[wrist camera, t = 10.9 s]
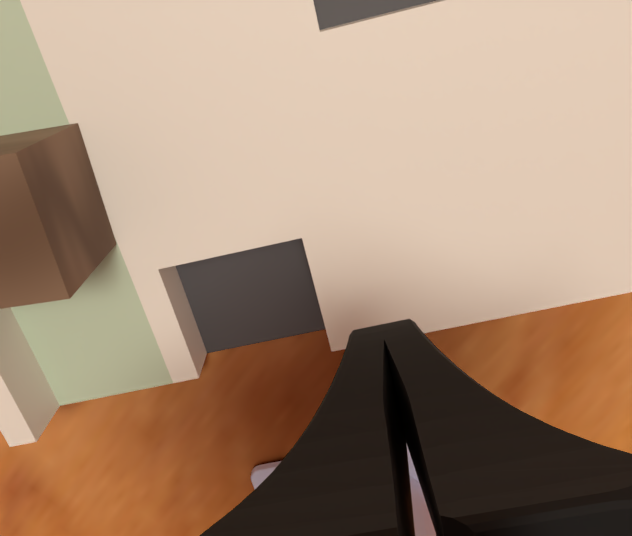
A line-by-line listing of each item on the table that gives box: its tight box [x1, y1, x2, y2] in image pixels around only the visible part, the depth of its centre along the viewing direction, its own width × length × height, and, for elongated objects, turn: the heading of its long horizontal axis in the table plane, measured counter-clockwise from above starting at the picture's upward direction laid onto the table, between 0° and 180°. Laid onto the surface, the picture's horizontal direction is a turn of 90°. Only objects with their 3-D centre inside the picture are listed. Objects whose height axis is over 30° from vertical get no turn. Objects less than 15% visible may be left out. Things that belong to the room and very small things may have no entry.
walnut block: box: [0, 123, 117, 309], centre depth 17 cm, size 4×4×4 cm
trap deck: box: [0, 0, 632, 447], centre depth 18 cm, size 15×26×4 cm, turn 103°
